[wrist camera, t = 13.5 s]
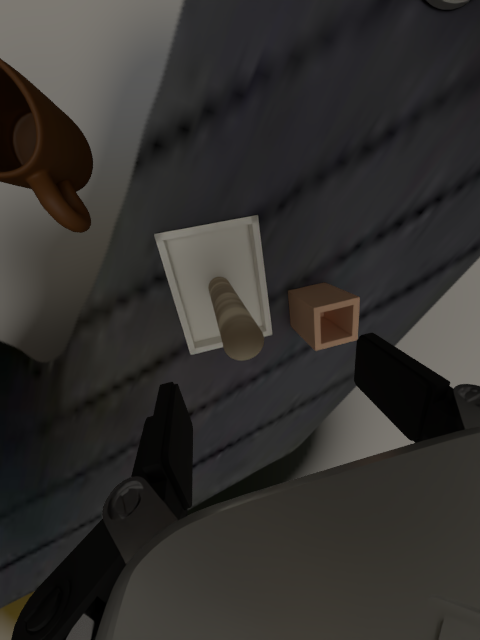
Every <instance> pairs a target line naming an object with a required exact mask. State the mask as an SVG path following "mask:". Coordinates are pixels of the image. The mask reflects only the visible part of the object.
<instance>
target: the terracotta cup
mask: <svg viewBox="0 0 480 640" xmlns="http://www.w3.org/2000/svg"><path fill="white" fill-rule="evenodd" d="M288 300H289V312H290V323H291V327H292V328H293V329H294V330H295V331H296V332H297V333H298V334H299V335H300V336H301V337H302V338H303V339H304V340H305V341H306V342H307V343H308V344H309V345H310V346H311V347H312V348H313V349H314V350H315V351H317V350H321V349H325V348H328V347H332V346H336V345H340V344H344V343H347V342H351V341H355V340H358V322H359V303H360V297H358V296H356V295H353V294H351V293H349V292H346V291H344V290H342V289H339V288H337V287H335V286H332V285H330V284H327V283H325V282H324V283H320V284H315V285H311V286H306V287H302V288H298V289H293V290H289V291H288Z"/></svg>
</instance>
